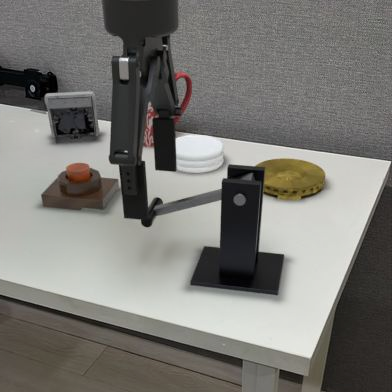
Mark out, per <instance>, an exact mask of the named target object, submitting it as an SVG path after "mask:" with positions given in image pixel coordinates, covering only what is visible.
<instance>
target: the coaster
mask: <svg viewBox="0 0 392 392" xmlns="http://www.w3.org/2000/svg"><path fill="white" fill-rule="evenodd" d="M224 150H225V145H224V143H223V142H222V141H221V140H220V139H219V138H217V137H214V136H211V135H204V134H188V135H182V136H178V137H176V165H177V170H176V171H178V172H183V173H188V174H202V173H210V172H213V171H215V170H218V169H219V168H221V167H222V166H223V164H224V161H225V158H224V156H225V153H224Z"/></svg>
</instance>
